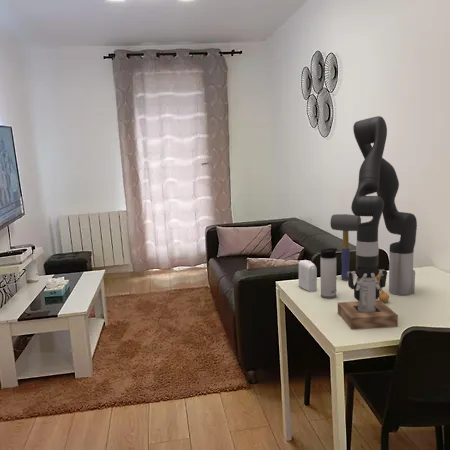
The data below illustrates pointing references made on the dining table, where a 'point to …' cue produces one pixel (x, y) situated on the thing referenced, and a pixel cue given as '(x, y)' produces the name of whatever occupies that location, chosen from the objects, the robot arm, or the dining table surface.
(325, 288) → the travel mug
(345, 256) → the rubber mallet
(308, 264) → the photo printer
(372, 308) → the energy drink can
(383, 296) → the figurine
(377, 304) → the wooden square frame
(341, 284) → the dining table surface
